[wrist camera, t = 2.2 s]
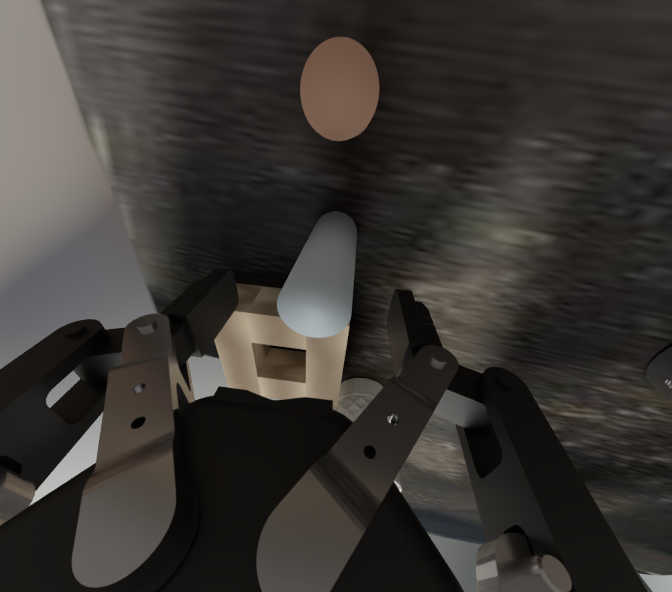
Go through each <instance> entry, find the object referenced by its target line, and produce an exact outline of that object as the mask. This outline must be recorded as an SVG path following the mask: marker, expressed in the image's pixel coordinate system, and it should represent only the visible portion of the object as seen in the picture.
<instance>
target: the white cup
mask: <svg viewBox="0 0 672 592" xmlns="http://www.w3.org/2000/svg"><path fill="white" fill-rule="evenodd" d="M382 388H383V386H382V385H381V384H380V383H378V382H376V381H373V380H370V379H367V378H353V379H348V380H345V381H343V382H342V383H341V385H340V392H339V398H338V405H337V407H334V406H333V408H332V409H333V410H335V411H338V412H340V413H341V414H343V415H345V416H346V417H348V418H349V419H350V420H351V421H352V422H354V421H355V420H356V419H357V418H358V416H359V415H360V414H361V413H362V412H363V411H364V409H365V408H366V407H367V406H368V405H369V404H370V402H371V401H372V400H373V399H374V398H375V396H376V395H377V394H378V393H379V392H380V391H381V389H382ZM394 482H395V484H396V486H397V487H398V489H399V490H400V492H402V485H401V478H400V471H399V473H398V475H397V476H396V478H395V480H394Z"/></svg>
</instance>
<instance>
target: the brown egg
mask: <svg viewBox="0 0 672 592" xmlns="http://www.w3.org/2000/svg"><path fill="white" fill-rule="evenodd" d="M300 95H301V103H302V107H303V110H304V113H305V116H306V118H307V120H308V122H309V123H310V125H311V126H312V127H313V128H314V130H315V131H316V132H317V133H319V134H320V135H321V136H323V137H325V138H327V139H330V140H333V141H345V140H349V139H351V138H353V137H355V136H357V135H359V134H360V133H362V132H363V131H364V130H365V129H366V127H367V126H368V124H369V123H370V121H371V119H372V117H373V115H374V113H375V110H376V107H377V103H378V98H379V78H378V73H377V69H376V66H375V63H374V61H373V59H372V57H371V55H370V54H369V52H368V51H367V50H366V49H365V48H364V47H363V46H362V45H361V44H360V43H358V42H357V41H355V40H353V39H350V38H347V37H334V38H331V39H328V40H326V41H324V42H323V43H321V44H320V45H319V46H317V47H316V48H315V50H314V51H313V52H312V53H311V55H310V56H309V58H308V60H307V62H306V64H305V67H304V69H303V73H302V77H301V85H300Z"/></svg>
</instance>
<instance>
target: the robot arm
mask: <svg viewBox="0 0 672 592" xmlns="http://www.w3.org/2000/svg"><path fill="white" fill-rule="evenodd" d="M238 302H239V296H238V291H237V286H236V281H235V276H234V273H233V271H231V270H221V269H215V270H213V271H212V272H211V273H210V274H209V275H208V276H207V277H206V278H202V279H200V280H198V281H196V282H194V283H193V284H192V285H191V286H190V287H188V288H187V290H185V291H184V292H183V293H182V294H181V296H179V297H177V298H176V299H175V300H174V301H173V302H172V303H171V304H170V305H169V306H168V307H167V308H165V309H164V310H163V311H162V312H161V313H160V314H148V315H145V316H141V317H139V318H137V319H135V320H133V321H132V322H130V323H129V324H128V325H127V326H126V327H125V328H117V329H108V330H105V329H104V327H103V326H102V324H101V323H100V322H99V321H97V320H93V319H87V320H80V321H76V322H73V323H70V324H67V325H65V326H63V327H61V328H59V329H57V330H56V331H54V332H53V333H52V334H50V335H49V336H47V337H46V338H44V339H43V340H42V341H40V342H39V343H37V344H36V345H34V346H33V347H32V348H30V349H29V350H27V351H26V352H24V353H23V354H22V355H20V356H19V357H18V358H16V359H14V360H13V361H12V362H10V363H9V364H7V365H6V366H4V367H3V368H2V369H0V592H464V591H463V589H462V587H461V585H460V584H459V582H458V580H457V579H456V577H455V576H454V574H453V573H452V571H451V569H450V568H449V566H448V565H447V563H446V562H445V560H444V559H443V557H442V556H441V554H440V552H439V551H438V549H437V548H436V546H435V545H434V543H433V542H432V540H431V538H430V537H429V535H428V534H427V532H426V531H425V529H424V527H423V526H422V524H421V523H420V521H419V520H418V518H417V517H416V515H415V514H414V512H413V510H412V509H411V507H410V506H409V504H408V503H407V501H406V500H405V498H404V496H403V495H402V493H401V492H400V490H399V489H398V487H397V486H396V484H395V482H394V480H395V478H396V476H397V475H398V473H399V471H400V469H401V468H402V466H403V464H404V463H405V461H406V459H407V457H408V456H409V454H410V452H411V450H412V449H413V447H414V445H415V443H416V442H417V440H418V438H419V437H420V435H421V433H422V431H423V430H424V428H425V426H426V424H427V423H428V421H429V419H430V417H431V416H432V414H434V415H436V416H439V417H441V418H443V419H446V420H448V421H450V422H452V423H455V424H456V428H457V431H458V435H459V439H460V443H461V446H462V450H463V454H464V458H465V461H466V465H467V469H468V473H469V476H470V480H471V484H472V488H473V491H474V495H475V499H476V503H477V506H478V510H479V514H480V518H481V521H482V525H483V529H484V533H485V536H486V540H487V543H485V544H483V545H482V546H481V547H480V548H479V550H478V552H477V555H476V560H475V567H476V575H477V592H648V591H647V589H646V588H645V586H644V584H643V583H642V581H641V579H640V578H639V576H638V574H637V572H636V571H635V569H634V567H633V566H632V564H631V562H630V561H629V559H628V557H627V555H626V554H625V552H624V550H623V549H622V547H621V545H620V544H619V542H618V540H617V538H616V537H615V535H614V533H613V532H612V530H611V528H610V527H609V525H608V523H607V521H606V520H605V518H604V516H603V515H602V513H601V511H600V510H599V508H598V506H597V505H596V503H595V501H594V499H593V498H592V496H591V494H590V493H589V491H588V489H587V488H586V486H585V484H584V482H583V481H582V479H581V477H580V476H579V474H578V472H577V471H576V469H575V467H574V465H573V464H572V462H571V460H570V459H569V457H568V455H567V454H566V452H565V450H564V448H563V447H562V445H561V443H560V442H559V440H558V438H557V437H556V435H555V433H554V431H553V430H552V428H551V426H550V425H549V423H548V421H547V420H546V418H545V416H544V414H543V413H542V411H541V409H540V408H539V406H538V404H537V403H536V401H535V399H534V397H533V396H532V394H531V392H530V391H529V389H528V387H527V386H526V384H525V383H524V382H523V381H522V380H521V379H520V378H519V377H517V376H516V375H515V374H513V373H511V372H510V371H508V370H505V369H503V368H499V367H490V368H487V369H486V370H485V371H484V372H483V374H482V373H479V372H476V371H474V370H471V369H468V368H466V367H463V366H461V365H459V364H458V361H457V359H456V358H455V356H454V355H453V354H452V353H451V352H449V351H448V350H446V349H444V348H443V347H442V344H441V342H440V339H439V336H438V334H437V331H436V329H435V326H434V325H433V321H432V318H431V315H430V313H429V310H428V309H427V308H426V306H425V305H424V304H423V303H422V302H417V301H415V300H414V296H413V293H412V291H410V290H401V289H395V291H394V294H393V298H392V301H391V305H390V309H389V313H388V318H387V327H388V334H389V341H390V348H391V355H392V363H393V370H394V377H392V378H391V379H390V380H389V381H388V382H387V384H386V385H385V386H384V387H383V388H382V389H381V391H380V392H379V393H378V394H377V395H376V396H375V398H374V399H373V400H372V401H371V402H370V404H369V405H368V406H367V407H366V408H365V409H364V411H363V412H362V413H361V414H360V415H359V416H358V418H357V419H356V420H355V421H354V422H352V421H351V420H350V419H349V418H348V417H346V416H345V415H343V414H341V413H340V412H338V411H335V410H333V409H332V408H333V400H326V399H318V398H310V397H300V398H292V399H284V400H270V399H268V398H265V397H263V396H260V395H258V394H256V393H253V392H251V391H248V390H244V389H236V388H227V387H218V389H217V391H216V392H215V394H214V396H209V397H205V398H202V399H198V400H195V398H194V392H193V387H192V381H191V375H190V369H189V364H188V362H187V360H188V359H189V357H190V356H196V357H203V355H204V354H205V353H206V351H207V350H208V348H209V347H210V345H211V344H212V343H213V341H214V340H215V338H216V337H217V335H218V334H219V332H220V331H221V330H222V328H223V327H224V325H225V324H226V322H227V321H228V320H229V318H230V317H231V315H232V314H233V312H234V311H235V310H236V308H237V306H238ZM73 370H74V372H75V373H76V374H77V375H78V376H79V377H80V378H81V379H80V380H79V381H78V382H77V383H76V384H75V385H74V386H73V387H72V388H71V389H70V390H68V391H67V392H66V393H65V394H64V395H63V396H62V397H61V398H60V399H59V400H58V401H57V402H56V403H55V404H54V405H53V406H52V407H51V408H49V407H48V406H47V404H46V397H47V395H48V393H49V392H50V391H51V390H52V389H53V388H54V387H55V386H56V385H57V384H58V383H59V382H61V381H62V379H64V378H65V377H66V376H67V375H68V374H69V373H70V372H72V371H73ZM646 379H647V380H648V381H649V383H650V384H651V385H653V386H654V387H655V388H656V389H657V390H658V391H659V392H661V393H662V394H663V395H664V396H665V397H666V398H667V399H669V400H670V401H671V402H672V346H671V347H670V348H668V349H667V350H665V351H664V352H662V353H661V354H659V355H658V356H657V357H656V358H655V359H654V360H653V361H652V362H651V363H650V365H649V366H648V367H647V370H646ZM102 412H103V418H102V425H101V432H100V439H99V446H98V453H97V460H96V463H95V464H93V465H92V466H90V467H89V468H87V469H86V470H84V471H83V472H81V473H79V474H78V475H76V476H75V477H73V478H72V479H70V480H69V481H67V482H66V483H64V484H63V485H61V486H60V487H58V488H57V489H55V490H54V491H52V492H50V493H49V494H47V495H46V496H45V497H43V498H41V499H40V500H38V501H37V502H35V503H34V504H32V505H30V503H31V502H32V500H33V497H34V494H35V491H36V490H37V489H38V488H39V486H40V485H41V484H42V483H43V482H44V481H45V479H46V478H47V477H48V476H49V475H50V473H51V472H52V471H53V470H54V469H55V468H56V466H57V465H58V464H59V463H60V462H61V461H62V459H63V458H64V457H65V456H66V455H67V453H68V452H69V451H70V450H71V449H72V448H73V446H74V445H75V444H76V443H77V442H78V440H79V439H80V438H81V437H82V435H84V433H85V432H86V431H87V430H88V429H89V428H90V426H91V425H92V424H93V423H94V422H95V420H96V419H97V418H98V417H99V416H100V415H101V413H102ZM29 505H30V506H29Z"/></svg>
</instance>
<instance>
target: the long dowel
mask: <svg viewBox="0 0 672 592" xmlns="http://www.w3.org/2000/svg"><path fill="white" fill-rule="evenodd" d="M356 242H357V228H356V225H355V223H354V221H353V220H352V219H351V217H349V216H348V215H347V214H345V213H342V212H338V211H332V212H328V213H326V214H324V215H323V216H321V217H320V218H319V220H318V221H317V223H316V225H315V227H314V229H313V231H312V233H311V234H310V236H309V238H308V240H307V242H306V244H305V246H304V248H303V250H302V252H301V253H300V255H299V257H298V259H297V261H296V263H295V265H294V267H293V269H292V271H291V273H290V274H289V276H288V278H287V280H286V282H285V284H284V286H283V288H282V290H281V292H280V294H279V296H278V299H277V309H278V313H279V315H280V317H281V319H282V320H283V322H284V323H285V324H286V325H287V326H288V327H289V328H291V329H292V330H294V331H295V332H297V333H299V334H302V335H304V336H308V337H314V338H324V337H330V336H333V335H335V334H338V333H339V332H341V331H342V330H343V329H344V328H345V327H346V326H347V325H348V323H349V321H350V319H351V313H352V299H353V285H354V270H355V256H356Z"/></svg>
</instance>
